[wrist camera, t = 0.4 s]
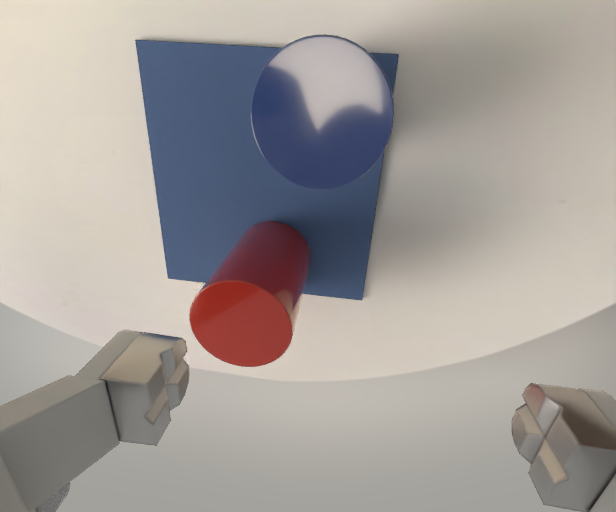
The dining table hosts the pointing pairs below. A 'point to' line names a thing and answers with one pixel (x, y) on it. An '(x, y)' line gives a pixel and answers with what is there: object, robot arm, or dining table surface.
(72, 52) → the dining table surface
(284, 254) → the red canister
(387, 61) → the blue mat
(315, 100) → the blue canister
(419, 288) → the dining table surface
